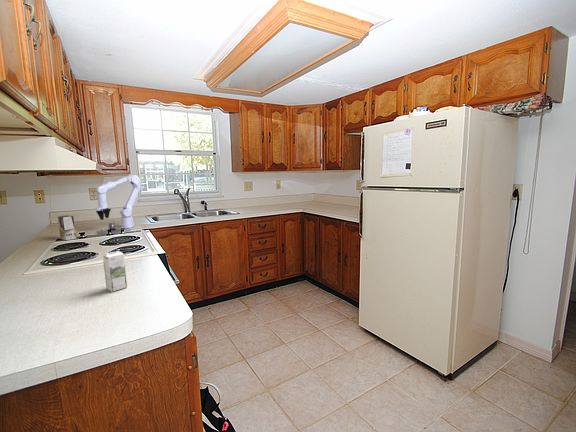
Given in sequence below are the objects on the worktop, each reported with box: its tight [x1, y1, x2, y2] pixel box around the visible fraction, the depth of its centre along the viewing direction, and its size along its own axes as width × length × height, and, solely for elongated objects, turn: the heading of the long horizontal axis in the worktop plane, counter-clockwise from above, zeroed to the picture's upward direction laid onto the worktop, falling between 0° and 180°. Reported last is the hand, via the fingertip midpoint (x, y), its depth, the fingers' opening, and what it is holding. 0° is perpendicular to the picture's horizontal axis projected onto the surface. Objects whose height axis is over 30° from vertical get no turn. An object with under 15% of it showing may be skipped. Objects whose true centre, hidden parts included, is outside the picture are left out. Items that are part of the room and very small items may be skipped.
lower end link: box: [101, 228, 131, 235], centre depth 222 cm, size 10×16×2 cm, turn 95°
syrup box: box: [102, 250, 128, 293], centre depth 114 cm, size 6×6×14 cm
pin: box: [108, 222, 116, 230], centre depth 221 cm, size 4×4×7 cm
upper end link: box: [96, 227, 121, 235], centre depth 221 cm, size 10×14×2 cm
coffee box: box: [57, 214, 77, 241], centre depth 201 cm, size 9×6×16 cm
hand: (104, 218), depth 227 cm, fingers open, 7 cm apart
